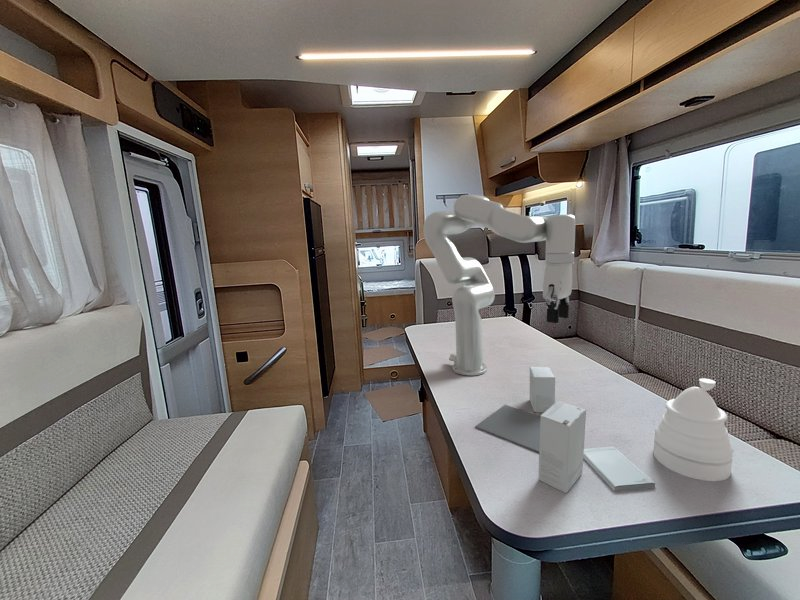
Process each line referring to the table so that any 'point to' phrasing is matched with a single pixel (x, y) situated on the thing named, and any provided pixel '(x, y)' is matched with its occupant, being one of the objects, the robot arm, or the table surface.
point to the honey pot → (694, 436)
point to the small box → (542, 388)
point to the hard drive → (616, 469)
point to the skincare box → (561, 445)
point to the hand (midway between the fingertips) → (557, 319)
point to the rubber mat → (514, 426)
